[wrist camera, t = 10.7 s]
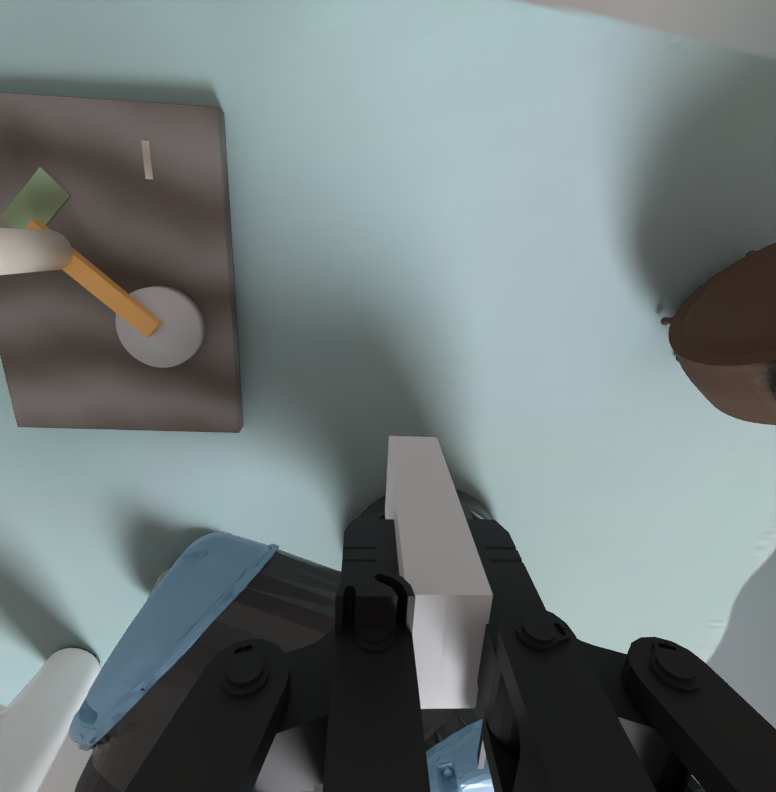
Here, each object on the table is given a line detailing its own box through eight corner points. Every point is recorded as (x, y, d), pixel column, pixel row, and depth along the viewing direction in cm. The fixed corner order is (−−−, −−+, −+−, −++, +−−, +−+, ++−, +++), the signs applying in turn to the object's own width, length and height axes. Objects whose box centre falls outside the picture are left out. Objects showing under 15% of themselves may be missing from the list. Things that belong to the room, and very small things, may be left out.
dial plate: (243, 425, 39) (238, 433, 38) (30, 419, 38) (16, 427, 37) (223, 113, 32) (216, 106, 30) (-44, 95, 31) (-66, 87, 29)
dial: (221, 324, 35) (178, 348, 27) (174, 377, 36) (121, 415, 28) (71, 196, 31) (-26, 181, 24) (26, 260, 33) (-81, 266, 25)
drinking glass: (51, 687, 48) (-79, 872, 34) (36, 640, 46) (-111, 816, 32) (115, 685, 49) (12, 868, 35) (103, 638, 47) (-13, 812, 32)
